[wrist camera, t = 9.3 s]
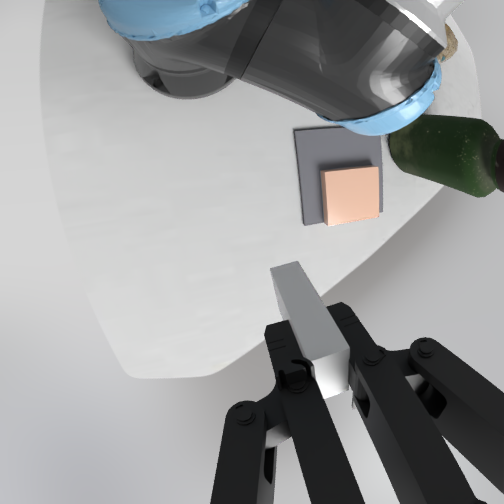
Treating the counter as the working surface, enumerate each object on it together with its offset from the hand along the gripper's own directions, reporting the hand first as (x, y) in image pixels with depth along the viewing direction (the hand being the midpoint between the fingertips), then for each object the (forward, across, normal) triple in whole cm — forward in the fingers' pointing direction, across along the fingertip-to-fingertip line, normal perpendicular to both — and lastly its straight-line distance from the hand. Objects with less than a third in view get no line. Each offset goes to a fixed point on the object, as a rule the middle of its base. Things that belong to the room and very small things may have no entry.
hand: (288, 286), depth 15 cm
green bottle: (+26, +30, +1) cm, 40 cm away
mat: (+26, +16, -2) cm, 30 cm away
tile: (+24, +11, -4) cm, 27 cm away
